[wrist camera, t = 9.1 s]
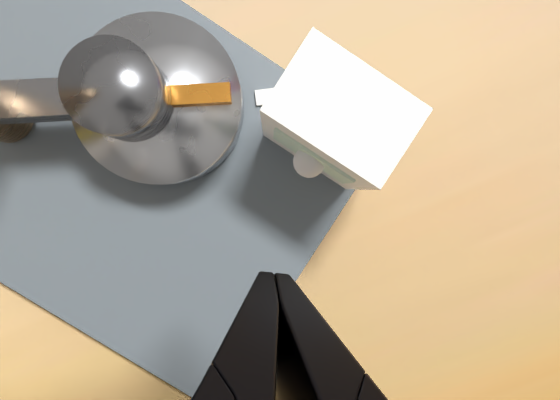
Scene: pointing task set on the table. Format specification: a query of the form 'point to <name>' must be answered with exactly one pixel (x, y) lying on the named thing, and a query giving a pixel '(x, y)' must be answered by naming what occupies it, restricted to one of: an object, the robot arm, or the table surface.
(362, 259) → the table surface
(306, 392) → the robot arm
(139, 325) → the stand
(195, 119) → the crank handle
